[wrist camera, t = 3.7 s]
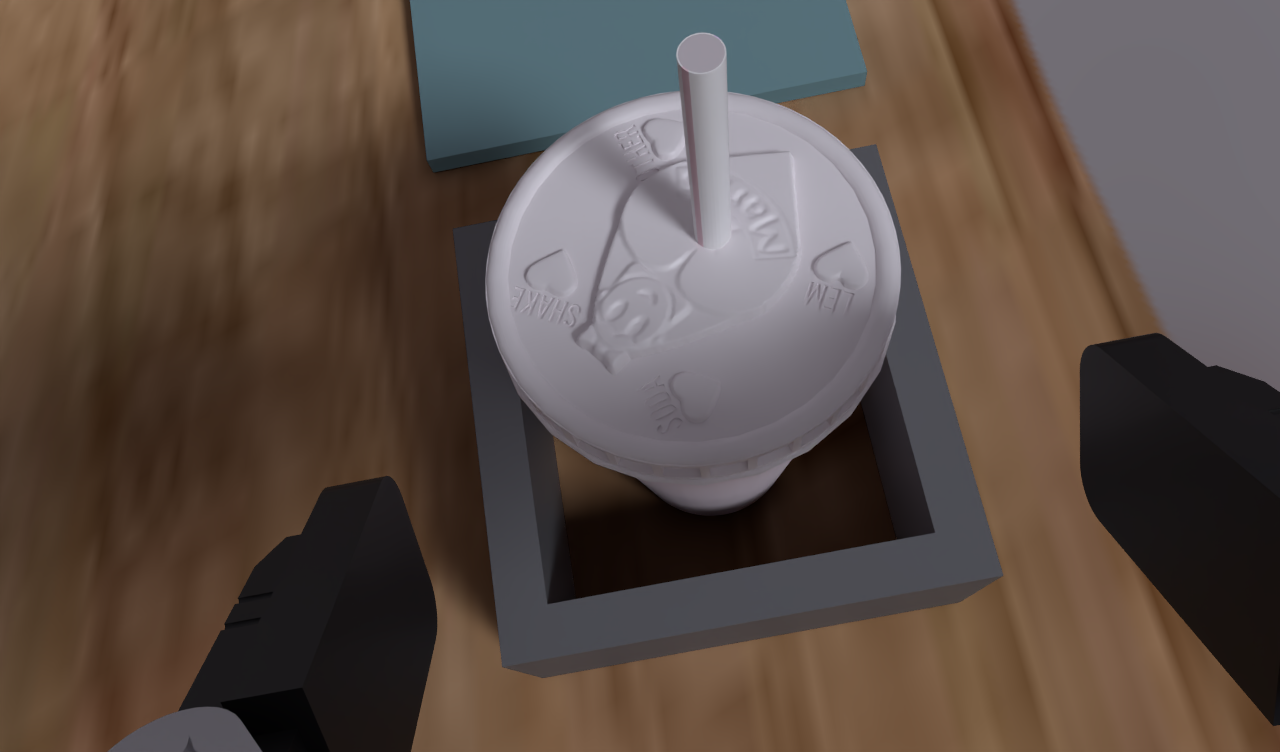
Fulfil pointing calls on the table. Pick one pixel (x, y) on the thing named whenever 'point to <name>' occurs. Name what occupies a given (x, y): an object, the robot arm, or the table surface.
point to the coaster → (604, 62)
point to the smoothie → (694, 287)
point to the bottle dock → (743, 598)
